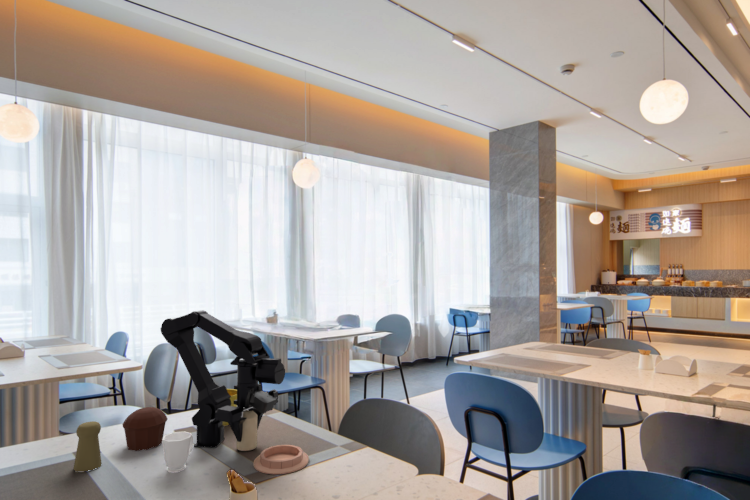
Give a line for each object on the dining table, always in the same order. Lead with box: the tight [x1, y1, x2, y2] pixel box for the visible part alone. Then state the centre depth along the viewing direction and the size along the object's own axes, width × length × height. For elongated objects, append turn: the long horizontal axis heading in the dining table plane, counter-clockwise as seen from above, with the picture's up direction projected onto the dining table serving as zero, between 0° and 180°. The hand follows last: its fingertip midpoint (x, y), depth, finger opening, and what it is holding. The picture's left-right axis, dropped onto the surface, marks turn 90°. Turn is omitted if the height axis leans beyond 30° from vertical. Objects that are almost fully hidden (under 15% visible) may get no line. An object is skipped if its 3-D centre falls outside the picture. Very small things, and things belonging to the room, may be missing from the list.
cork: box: [73, 420, 103, 471], centre depth 113 cm, size 6×6×11 cm
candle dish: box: [253, 444, 310, 475], centre depth 116 cm, size 14×14×2 cm
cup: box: [161, 430, 194, 474], centre depth 113 cm, size 7×10×8 cm
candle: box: [236, 410, 258, 452], centre depth 125 cm, size 6×6×10 cm
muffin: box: [122, 406, 168, 452], centre depth 127 cm, size 12×11×10 cm
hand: (246, 437), depth 124 cm, fingers closed on candle, 5 cm apart
